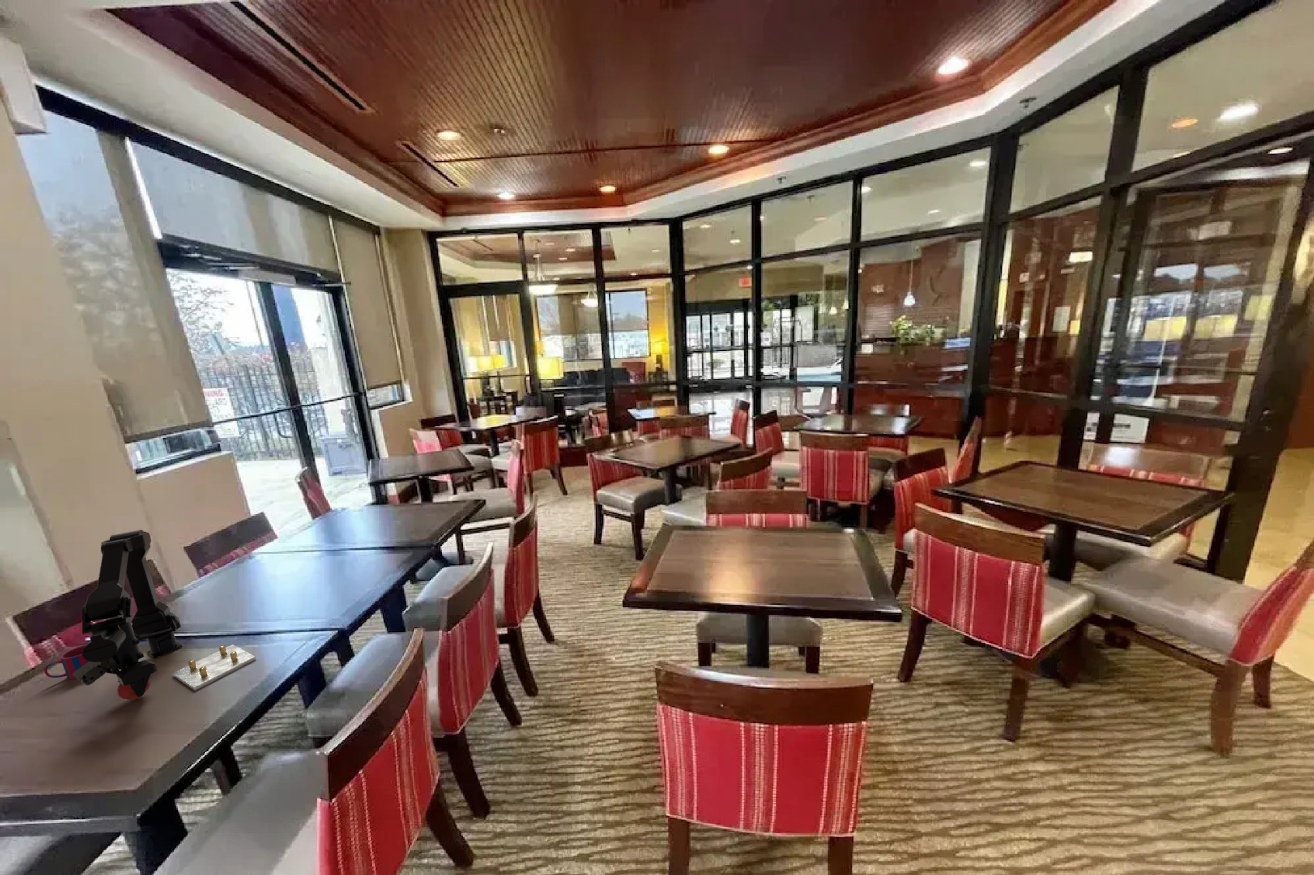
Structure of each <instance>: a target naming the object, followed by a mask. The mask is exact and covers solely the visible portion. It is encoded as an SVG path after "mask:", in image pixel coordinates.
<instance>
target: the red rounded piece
mask: <svg viewBox="0 0 1314 875" xmlns="http://www.w3.org/2000/svg"><path fill="white" fill-rule="evenodd" d="M150 687H151V680H150V679H149V681H148V683H147V686H146V689H145V692H144V694H145V693H146V692H147V691H148V690H149V689H150ZM117 695H118V696H119V697H120V698H121V699H123V700H128V701H129V700H139V699H141V698H142V697H143V695H142V696H140V697H137V695H136V694H135V693H134V691H133V690H132V689H131V687H130V686H129V684H128V685H125V686H123V685H122V684H120V683H119V685H118V686H117Z"/></svg>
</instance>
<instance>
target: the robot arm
mask: <svg viewBox="0 0 1314 875" xmlns="http://www.w3.org/2000/svg"><path fill="white" fill-rule="evenodd" d="M151 542H152V538H151V534H150V532H147V531H144V530H143V529H137V530H133V531H128V532H122V533H117V534H112V535H110V536H109V539H106V540H104V541H102V542H100V544H101V546H100V553H101V554H102V556H101V562H100V568H99V574H98V580H97V585H96V588H94V590H93V591H91V593H89V594H88V595H87V598H86V602H85V605H83V607H82V609H81V611H82V613H81V615H82V616H81V617H82V618H81V620H82V621H81V625H82V627H81V631H82V632H81V633H82V635H85V634H89V633H91V635H90V637H89V639H90V640H89V641H88V643H86V644H85V645H86V646H85V647H84V649H83V653H82V656H83V657H84V659H86V660H87V661H89V662H88V663H86V664H85V665H83V666H82V667H81V668H79V669H78V670H76V671H75V672H74V673H73V676H75V677H76V678H77V679H76V680H78V681H80V682H81V683H82V684H84V685H85V686H91V684H94V683H95V682H96V681H97V680H98V679H100V678H101V677H103V676H104V675H105V674H106V673H107V674H111V675H116V678H117V680H118V681H117V683H119V685H120V684H122V685H123V686H125V685H128V684H129V686H130V687H131V689H132V690H133V691H134V693H135V694H136V695H137V697H140V696H142V697H143V696H144V695H145V693H146V692H145V689H146V686H147V683H148V681H149V680H150V677H151V675H153V674H155V673H156V672H157V671H158V668H157V665H156V663H155V662H153V660H149V659H142V658H145V656H144V653H143V652H142V651H141V650H140V647H139V644H140V643H141V641H143V640H146V641H147V645H148V648H149V650H148V651H147V652H146V655H147V656H149V657H151V658H152V659H154V660H155V659H158V658H160V657H163V656H165V655H167V654H170V653H171V652H174V651H175V650H178V649H180V648H182V647H183V644H181V643H180V642H178V641H177V639H176V636H175V632H177V631H178V629H180V628H182V625H181V620H180V619H179V617H178V616H177V615H176V614H174V613H173V612H171V610H170V607H169V606H168V604H165V603H163V602H161V601H160V600H159V598H158V595H157V594H158V593H157V591H156V587H155V584H154V582H153V581H154V580H153V578H152V575H151V571H150V567H149V565H148V561H147V558H146V556H147V555H148V553H149V552H150V551H149V550H151ZM126 578H127V581H128V584H129V588H130V592H131V594H132V598H131V596H130V594H129V593H128V591H126V590H125V583H126ZM134 605H135V608H136V610H137V611H135V614H134V616H133V610H134V608H133V607H134ZM131 617H133V618H132V620H130V619H131ZM94 622H95V623H94ZM141 659H142V660H141ZM139 660H140V661H139ZM144 692H145V693H144Z"/></svg>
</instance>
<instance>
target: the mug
mask: <svg viewBox="0 0 1314 875" xmlns="http://www.w3.org/2000/svg"><path fill="white" fill-rule="evenodd" d="M86 645H87V644H84V645H80V646H77V647H74V648H72V649H69V650H68V651H66V652H65V653H63V654H61V655H60V656H59V657H60V659H58V660H54V661H51V662H49V663H47V664H46V665H45V666H44V669H43V670H44V671H43V672H44V675H45V676H46V677H48V678H52V679H59V678H64V677H67V679H68V680H78V679H77V678H76V677H75V676H73V673H74V672H75V671H76V670H78V669H79V668H81V667H82V666H83V665H85V664H86V663H88V662H89V661H87V660H86V659H84V657H83V656H82V653H83V649H84V647H85V646H86ZM54 664H61V665H62V667H63V669H64V672H65V673H62V674H56V675H55V674H54V675H53V674H50V673H49V671H48V668H49V666H51V665H54Z"/></svg>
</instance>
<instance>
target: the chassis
mask: <svg viewBox="0 0 1314 875" xmlns="http://www.w3.org/2000/svg"><path fill="white" fill-rule="evenodd" d="M218 649H219V650H218V651H216V652H214V653H212V654H210V655H208V656H206V657H203V658H201V659H199V660H197V661H196V659H191V660H189V661H188V662H187V664H188V665H186V666H184V667H183V668H181V669H178V670H176V671H174V672H172V676H173V678H175V679H176V680H178V681H180V682H181V683H182V684H184V685H185V686H187V687H188V688H190V689H191V690H192V691H194V692H196V691H197V690H200V689H201V688H203V687H205V686H207V685H209V684H211V683H213V682H215V681H217V680H219V679H220V678H221V679H222V677H224V676H226V675H228V674H229V675H230V674H231V673H232V672H234V671H236V670H238V669H240V668H242V667H244V666H246V665H248V664H251V662H253V661H256V660H257V659H256V656H255V655H253V654H251V653H250V652H248V651H245V650H244V649H242V648H241V647H239V646H236V645H235V644H231V645H228V646H226V645H221V646H219V647H218Z"/></svg>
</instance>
